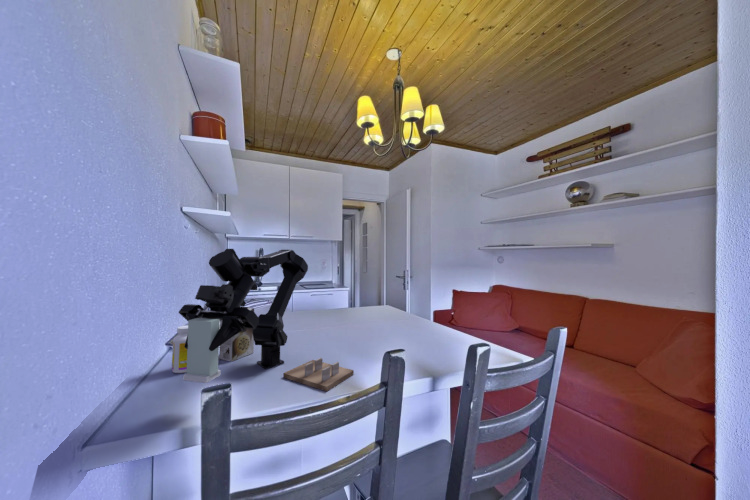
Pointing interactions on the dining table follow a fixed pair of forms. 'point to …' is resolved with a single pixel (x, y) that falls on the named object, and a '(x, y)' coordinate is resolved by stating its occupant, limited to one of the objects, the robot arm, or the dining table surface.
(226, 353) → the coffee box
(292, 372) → the hinge base
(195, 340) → the pale green pillar
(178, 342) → the supplement bottle
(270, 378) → the dining table surface
